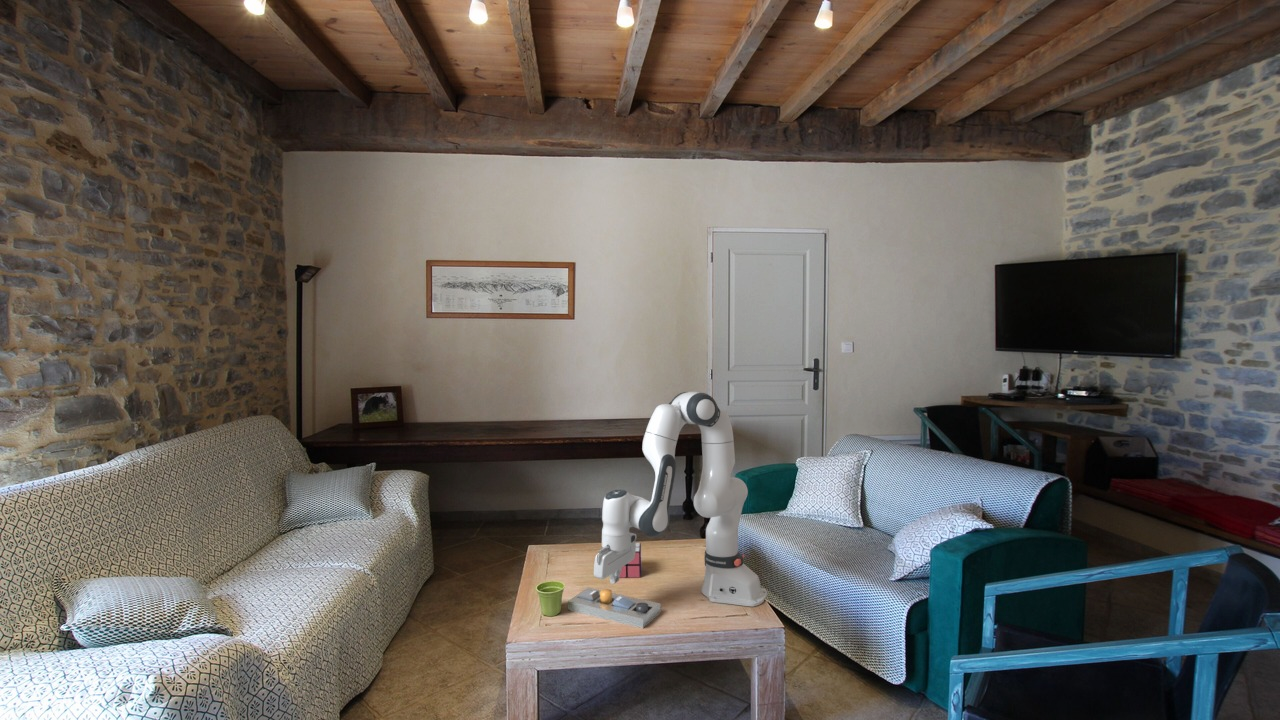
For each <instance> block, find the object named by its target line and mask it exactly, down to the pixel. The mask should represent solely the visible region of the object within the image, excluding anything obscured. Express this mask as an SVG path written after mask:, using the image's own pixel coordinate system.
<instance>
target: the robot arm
mask: <svg viewBox="0 0 1280 720" xmlns="http://www.w3.org/2000/svg"><path fill="white" fill-rule="evenodd" d="M686 424H688V425H697V426H698V428H699V429H700V430H699V431H700V434H701V435H700V437H701V452H702V454H701V455H702V469H701V475H700V481H699V485H698V489H697V491H696V493H695V494H694V496H693V507H694V509H695V511H696V512H697V514H698V515H699V516H701V517H703V518H706V519H709V522H708V523H707V525H706V527H705V550H704V558H703V560H704V561H703V562H704V567H705V569H704V576H703V577H704V579H703V583H702V587H701V594H703V595H704V596H705V597H707V598H708V600H709V602H710V603H711V602H712V603H717V604H718V603H719V604H726V605H727V604H728V605H736V606H744V607H745V606H746V607H757V606H760V605H761V604H763V603H764V602H765V601H764V599H765V600H766V599H767V598H768V591H767V589H766V588H764V587H761V582H760V577H759V575H758V574H756V573H755V572H754V571H753V570H752V569H751V568H749V567H748V566H747V565H746V564H745V563H744V558H745V553H743V554H741V553H740V552H739V541H738V540H739V526H740V521H741V516H742V512H743V508H744V503H745V502H746V499H747V497H748V494H749V493H748V492H749V490H748V487H747V484H746V483H745V482H744V481H743V480H742V479H741V478H739V477H732V476H731V474H732V471H733V468H734V467H735V464H736V456H735V455H736V454H735V443H734V442H735V441H734V440H735V439H734V431H733V426H732V421H731V418H730V415H729V413H728V412H727V411H725V410H723V409H720V408H719V406H718V404H717V402H716V400H715V399H714V398H713V397H712V396H711V395H710V394H707V393H706V392H699V391H683V392H680V393H678V394H676V395H675V396H674V397H673V398H672V400H671V401H670V402H669V403H662V404H659V405H658V406H656V407H655V409H654V411H653V412H652V415H651V417H650V419H649V421H648V424H647V426H646V429H645V433H644V435H643V439H642V444H641V445H642V446H641V447H642V448H641V449H642V453H643V455H644V457H645V458H646V460H647V461H648V462H649V464H650V465H651V467H652V468H653V470H654V473H655V475H654V476H655V478H654V484H653V490H652V493H651V494H652V495H651V500H648V499H646V498H644V497H642V496H638V495H633V494H631V493H629V492H628V491H627V490H626V489H625V490H624V489H613V490H610V491H609V492H606V494H605V495H604V498H603V500H602V501H603V502H602V510H601V513H602V514H601V521H602V529H601V547H602V548H599V550H598V553H597V554H596V555H595V557H594V564H593V577H594V578H596V579H600V580H605V579H606V578H608V577H609V583H610V584H612V585H615V584H616V583H618V582H619V581H620V578H619V576H620V573H621V570H622V567H623V566H625V565H626V564H628V563H629V562H631V561H632V560H633V559H634V557H635V550H636V543H637V542H636V541H637V534H636V533H633V532H630V528H635V529H637V530H639V531H641V532H642V533H643V534H645V535H646V536H647V537H650V538H656V537H658V536H661V535H662V534H663V533H664V532H665V531H666V530H667V528H668V526H669V524H670V515H671V514H670V507H671V500H672V493H673V487H674V482H675V476H676V471H677V470H676V469H677V465H676V457H675V455H676V446H677V443H678V439H679V435H680V432H681V431H682V429H683V427H684V425H686ZM760 594H761V595H760Z"/></svg>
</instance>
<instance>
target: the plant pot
mask: <svg viewBox="0 0 1280 720" xmlns="http://www.w3.org/2000/svg"><path fill="white" fill-rule="evenodd" d="M565 588H566V586H565V583H564V582H562V581H557V580H549V581H542V582H540V583H539V584H537V585H536V586H535V590H536V591H537V595H538V599H539V605H540V610H541V614H542V616H546V617H554V616H557V615H559V614H560V613H561V611H562V610H561V608H562V602H563V601H562V600H563V593H564V589H565Z"/></svg>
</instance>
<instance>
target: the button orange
mask: <svg viewBox="0 0 1280 720" xmlns="http://www.w3.org/2000/svg"><path fill="white" fill-rule="evenodd" d="M600 590H601V591H600V603H602V604H606V605H608V604H611V603H612V593H613V591H612V590H611V589H609V588H604V589H600Z"/></svg>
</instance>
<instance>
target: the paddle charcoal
mask: <svg viewBox="0 0 1280 720" xmlns="http://www.w3.org/2000/svg"><path fill="white" fill-rule="evenodd" d="M598 590H599V589H597V591H586V592H583V593H582V594H581V595H579V596H578V598H581V599H585V600H589V601H592V600H594V599H596V598H597V597H598V596H599V592H598Z"/></svg>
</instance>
